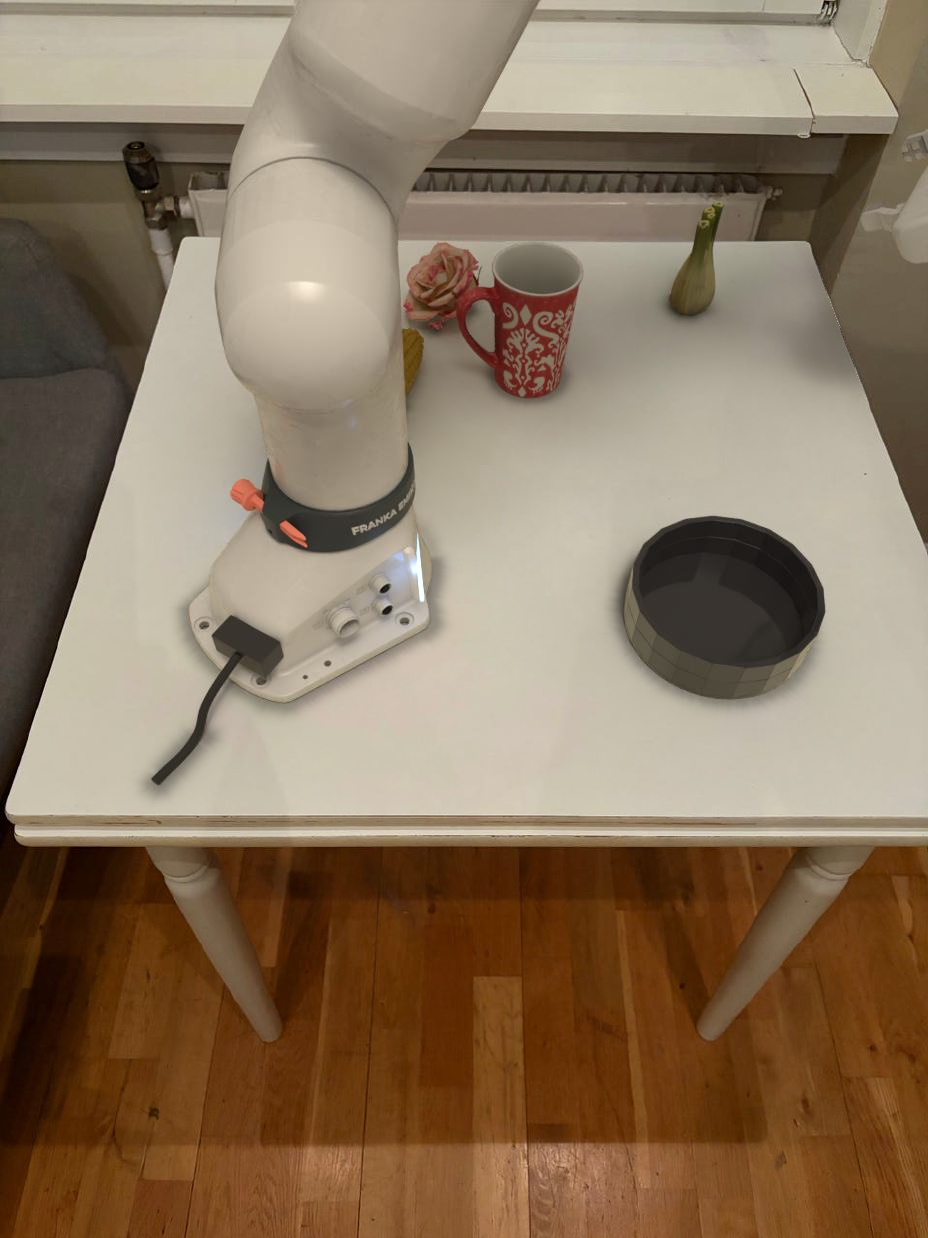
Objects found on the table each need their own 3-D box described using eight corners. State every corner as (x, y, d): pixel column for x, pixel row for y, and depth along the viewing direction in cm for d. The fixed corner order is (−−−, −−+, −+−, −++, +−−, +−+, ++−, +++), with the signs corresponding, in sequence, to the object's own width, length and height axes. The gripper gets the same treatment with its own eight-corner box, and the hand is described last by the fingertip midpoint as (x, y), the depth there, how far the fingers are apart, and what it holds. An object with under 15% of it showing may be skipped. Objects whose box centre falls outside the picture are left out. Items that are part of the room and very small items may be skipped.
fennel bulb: (693, 288, 113) (716, 193, 103) (722, 309, 111) (748, 214, 101) (656, 304, 111) (676, 209, 101) (685, 326, 109) (708, 231, 99)
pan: (736, 734, 78) (752, 703, 74) (586, 621, 84) (593, 586, 80) (842, 621, 85) (861, 587, 81) (695, 524, 91) (707, 488, 87)
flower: (467, 266, 112) (429, 224, 106) (516, 289, 107) (479, 247, 100) (420, 334, 113) (379, 296, 107) (466, 361, 108) (426, 323, 101)
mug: (556, 344, 107) (568, 235, 96) (579, 397, 102) (595, 289, 91) (447, 359, 105) (446, 250, 94) (465, 414, 100) (466, 305, 89)
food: (374, 489, 93) (370, 445, 89) (320, 478, 94) (313, 434, 89) (433, 355, 105) (432, 310, 100) (385, 346, 106) (382, 301, 101)
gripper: (1088, 26, 77) (917, 80, 87) (999, 194, 70) (828, 230, 81) (1103, 96, 80) (937, 140, 91) (1020, 262, 74) (853, 288, 85)
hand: (885, 183), depth 86 cm, fingers open, 8 cm apart
